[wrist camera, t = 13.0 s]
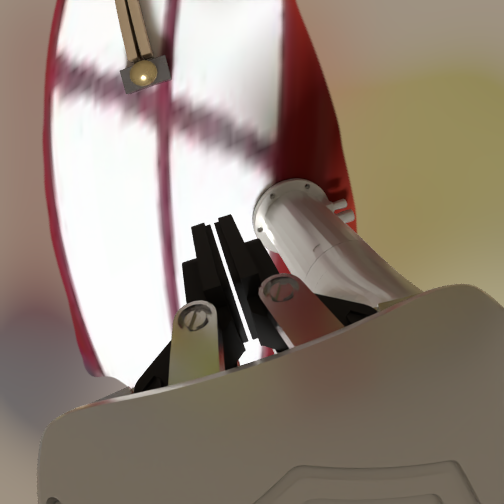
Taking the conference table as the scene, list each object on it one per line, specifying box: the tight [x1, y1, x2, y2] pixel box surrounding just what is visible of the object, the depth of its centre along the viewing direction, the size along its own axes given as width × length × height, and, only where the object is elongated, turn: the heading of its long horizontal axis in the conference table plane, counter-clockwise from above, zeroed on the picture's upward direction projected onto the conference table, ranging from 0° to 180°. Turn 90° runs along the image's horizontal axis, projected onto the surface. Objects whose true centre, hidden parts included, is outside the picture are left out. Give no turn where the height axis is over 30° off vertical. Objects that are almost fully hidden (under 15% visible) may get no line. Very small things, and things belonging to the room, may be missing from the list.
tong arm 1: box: [127, 0, 154, 60], centre depth 19 cm, size 1×16×5 cm, turn 12°
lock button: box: [130, 60, 158, 86], centre depth 23 cm, size 3×3×2 cm
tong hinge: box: [120, 55, 171, 94], centre depth 26 cm, size 5×3×4 cm, turn 101°
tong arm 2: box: [115, 0, 142, 64], centre depth 19 cm, size 1×16×5 cm, turn 11°
